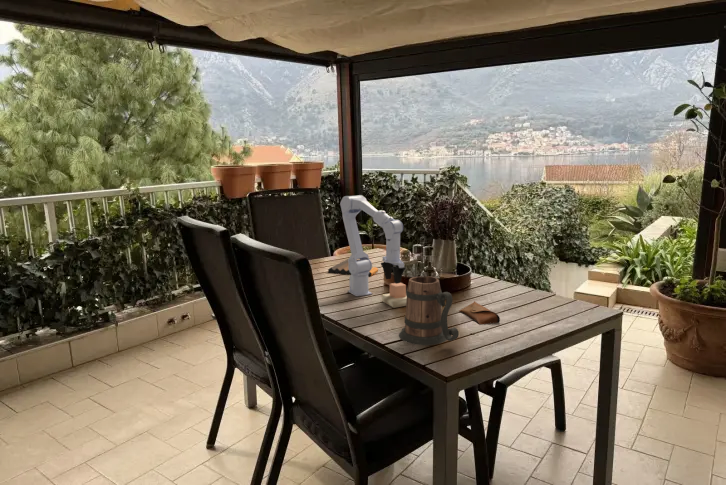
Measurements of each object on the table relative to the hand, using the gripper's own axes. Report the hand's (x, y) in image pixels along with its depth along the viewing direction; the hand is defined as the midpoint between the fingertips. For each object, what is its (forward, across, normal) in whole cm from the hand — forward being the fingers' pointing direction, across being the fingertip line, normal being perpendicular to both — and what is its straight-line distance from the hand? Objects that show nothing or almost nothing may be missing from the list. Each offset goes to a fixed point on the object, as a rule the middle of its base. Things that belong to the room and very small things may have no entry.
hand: (392, 281), depth 204 cm
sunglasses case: (+10, +31, +20) cm, 38 cm away
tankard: (+9, +42, -10) cm, 44 cm away
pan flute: (+10, -61, +14) cm, 64 cm away
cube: (+6, +2, +2) cm, 7 cm away
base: (+9, +2, +2) cm, 10 cm away
